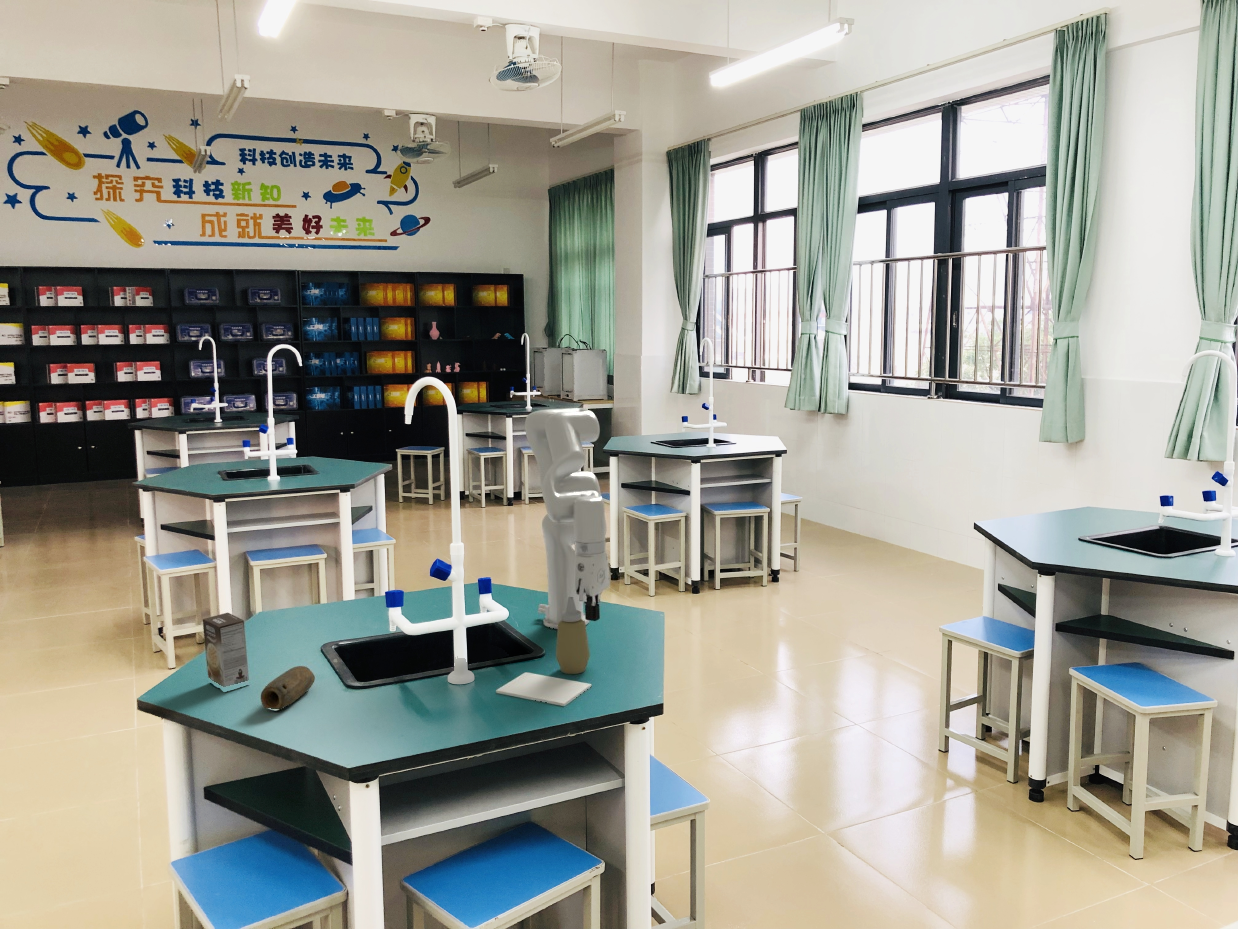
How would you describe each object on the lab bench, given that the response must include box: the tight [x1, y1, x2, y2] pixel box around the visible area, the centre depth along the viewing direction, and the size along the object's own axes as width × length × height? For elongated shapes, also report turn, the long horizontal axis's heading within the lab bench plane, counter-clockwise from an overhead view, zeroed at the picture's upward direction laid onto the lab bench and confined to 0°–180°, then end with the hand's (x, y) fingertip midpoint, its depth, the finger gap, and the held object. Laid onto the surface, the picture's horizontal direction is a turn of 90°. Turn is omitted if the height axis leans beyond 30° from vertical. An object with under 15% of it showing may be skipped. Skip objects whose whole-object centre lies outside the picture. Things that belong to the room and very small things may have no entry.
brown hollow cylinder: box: [260, 665, 316, 710], centre depth 212 cm, size 15×7×7 cm, turn 175°
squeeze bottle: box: [555, 597, 591, 675], centre depth 224 cm, size 8×8×18 cm
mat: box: [495, 671, 593, 707], centre depth 214 cm, size 18×12×1 cm, turn 62°
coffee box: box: [202, 612, 250, 687], centre depth 222 cm, size 9×6×16 cm
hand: (592, 619), depth 233 cm, fingers closed
